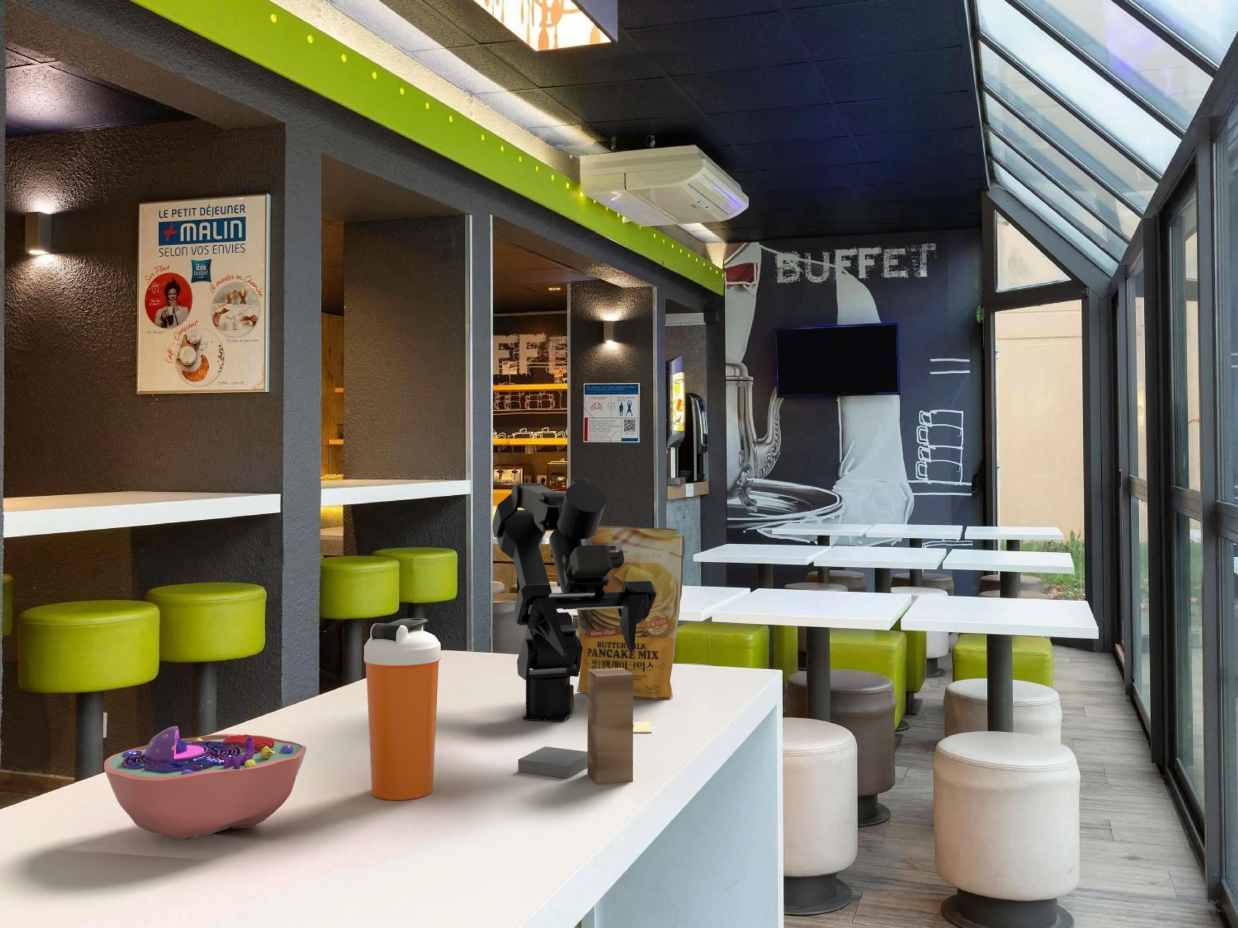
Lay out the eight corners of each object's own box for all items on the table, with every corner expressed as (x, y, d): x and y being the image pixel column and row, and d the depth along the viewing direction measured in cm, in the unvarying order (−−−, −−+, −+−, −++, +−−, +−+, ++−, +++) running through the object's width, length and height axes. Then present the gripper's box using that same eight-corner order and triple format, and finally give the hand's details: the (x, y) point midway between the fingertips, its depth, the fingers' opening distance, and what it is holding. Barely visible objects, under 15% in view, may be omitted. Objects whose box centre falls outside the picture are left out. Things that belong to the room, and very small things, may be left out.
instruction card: (588, 732, 158) (588, 730, 158) (589, 722, 164) (589, 720, 164) (651, 732, 158) (651, 730, 158) (650, 722, 164) (650, 720, 164)
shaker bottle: (454, 784, 133) (454, 618, 133) (417, 806, 124) (417, 628, 124) (389, 777, 136) (389, 614, 136) (348, 798, 127) (348, 624, 127)
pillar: (587, 773, 137) (587, 669, 137) (621, 770, 139) (622, 667, 139) (597, 783, 133) (597, 676, 133) (633, 780, 134) (633, 674, 134)
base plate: (518, 771, 138) (518, 759, 138) (544, 757, 145) (544, 746, 145) (567, 777, 136) (567, 765, 136) (592, 763, 142) (592, 752, 142)
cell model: (307, 850, 111) (307, 737, 111) (88, 870, 105) (88, 751, 105) (305, 800, 127) (305, 701, 127) (115, 815, 121) (115, 712, 121)
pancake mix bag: (577, 687, 190) (577, 524, 190) (686, 693, 185) (686, 526, 185) (565, 695, 184) (565, 526, 184) (677, 702, 179) (677, 528, 178)
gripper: (519, 523, 146) (540, 617, 136) (651, 521, 152) (681, 611, 142) (506, 578, 154) (525, 670, 143) (632, 573, 160) (660, 662, 149)
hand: (598, 652), depth 144 cm, fingers open, 9 cm apart
